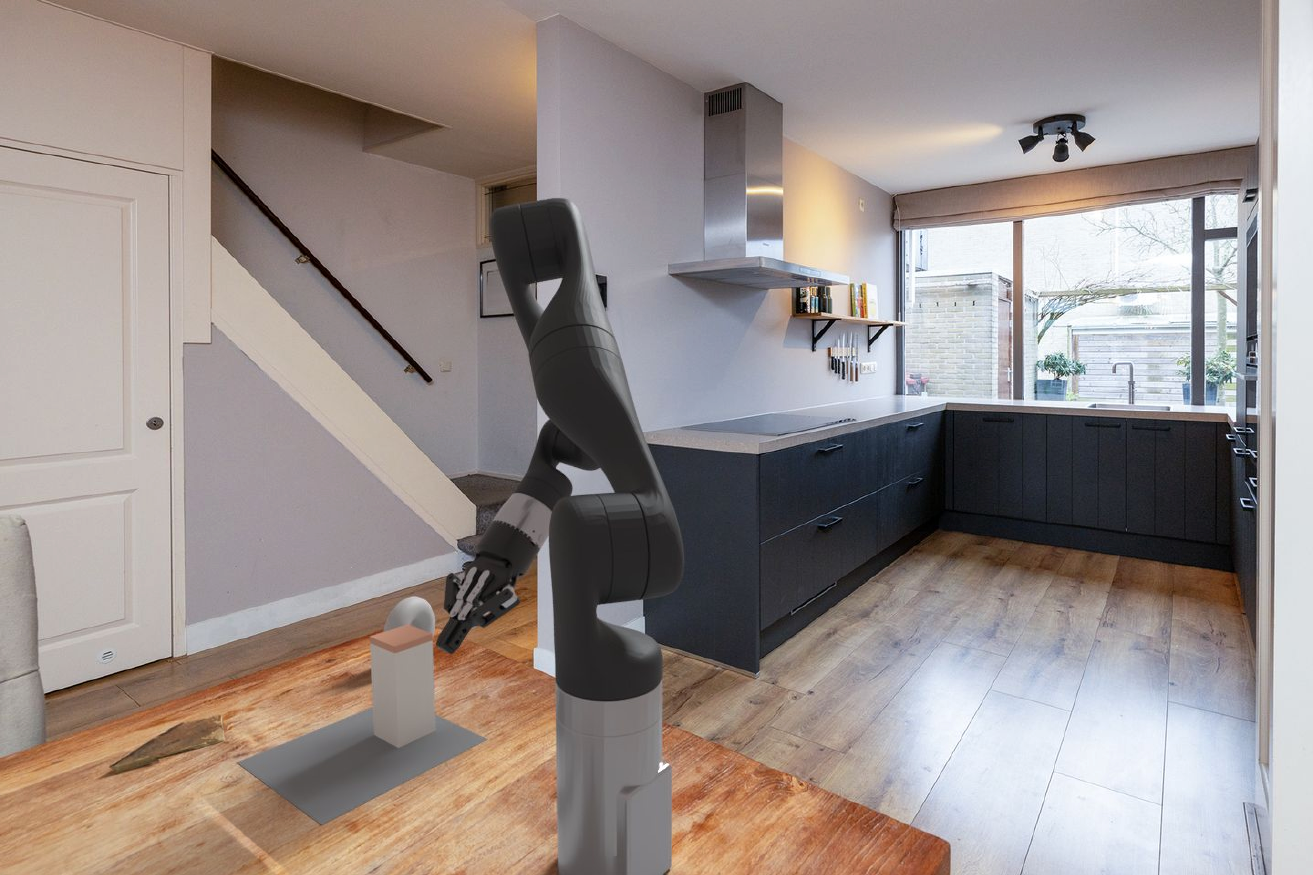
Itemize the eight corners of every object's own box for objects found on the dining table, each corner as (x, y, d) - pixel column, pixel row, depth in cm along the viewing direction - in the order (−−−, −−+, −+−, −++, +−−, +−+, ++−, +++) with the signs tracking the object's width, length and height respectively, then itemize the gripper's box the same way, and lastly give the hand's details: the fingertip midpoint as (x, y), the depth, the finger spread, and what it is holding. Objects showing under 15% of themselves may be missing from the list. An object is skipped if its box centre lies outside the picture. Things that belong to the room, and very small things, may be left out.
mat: (487, 743, 85) (487, 738, 85) (321, 829, 69) (321, 824, 69) (398, 700, 96) (398, 696, 96) (237, 766, 80) (236, 762, 80)
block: (435, 730, 87) (432, 633, 86) (398, 748, 83) (394, 646, 82) (410, 718, 90) (407, 624, 89) (373, 734, 86) (369, 636, 85)
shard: (109, 779, 79) (108, 763, 78) (114, 748, 85) (112, 733, 85) (226, 750, 85) (225, 735, 84) (222, 723, 91) (221, 709, 91)
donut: (398, 678, 102) (396, 610, 101) (378, 675, 103) (375, 607, 102) (440, 652, 112) (438, 589, 111) (421, 649, 113) (419, 586, 112)
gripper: (469, 512, 100) (392, 623, 92) (535, 525, 92) (458, 648, 84) (499, 542, 105) (430, 651, 97) (565, 557, 97) (495, 677, 89)
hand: (443, 649), depth 90 cm, fingers closed
